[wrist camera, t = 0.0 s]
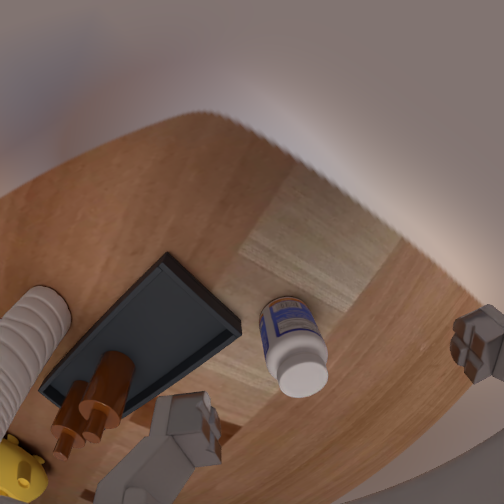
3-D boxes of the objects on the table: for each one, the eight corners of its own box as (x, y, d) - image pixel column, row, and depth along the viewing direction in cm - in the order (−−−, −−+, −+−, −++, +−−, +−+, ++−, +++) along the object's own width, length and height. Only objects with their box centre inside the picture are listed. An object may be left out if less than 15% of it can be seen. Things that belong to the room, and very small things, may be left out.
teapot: (10, 414, 37) (-18, 470, 24) (75, 465, 42) (59, 522, 29) (-18, 433, 39) (-40, 476, 27) (35, 475, 45) (20, 519, 32)
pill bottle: (288, 346, 34) (306, 411, 25) (247, 324, 32) (256, 391, 23) (320, 310, 32) (350, 371, 23) (280, 285, 31) (301, 345, 22)
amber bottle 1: (66, 388, 34) (37, 449, 23) (80, 374, 33) (50, 440, 23) (91, 407, 35) (69, 470, 25) (107, 395, 34) (84, 463, 24)
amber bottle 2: (93, 362, 32) (62, 431, 22) (113, 343, 31) (81, 417, 21) (122, 384, 34) (99, 455, 23) (143, 367, 33) (122, 443, 23)
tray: (101, 421, 37) (97, 434, 34) (44, 378, 34) (37, 391, 31) (241, 320, 32) (242, 334, 30) (167, 251, 29) (162, 261, 26)
